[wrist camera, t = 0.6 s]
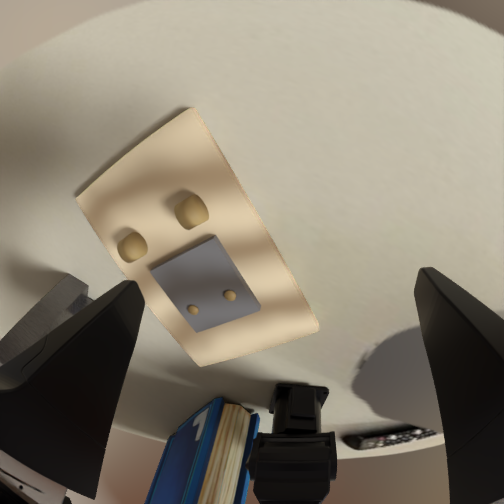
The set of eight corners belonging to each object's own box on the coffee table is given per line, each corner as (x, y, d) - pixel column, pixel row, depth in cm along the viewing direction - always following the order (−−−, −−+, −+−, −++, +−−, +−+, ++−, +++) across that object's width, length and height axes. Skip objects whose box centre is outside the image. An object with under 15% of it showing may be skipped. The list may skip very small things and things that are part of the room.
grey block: (112, 300, 30) (39, 394, 17) (107, 330, 32) (47, 417, 19) (69, 273, 29) (-11, 352, 16) (67, 305, 32) (1, 381, 19)
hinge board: (318, 323, 27) (320, 347, 24) (202, 359, 32) (194, 381, 29) (195, 107, 20) (179, 107, 17) (82, 195, 25) (60, 206, 22)
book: (198, 451, 45) (166, 562, 22) (163, 436, 44) (123, 548, 21) (263, 411, 35) (234, 583, 13) (217, 391, 34) (166, 571, 12)
